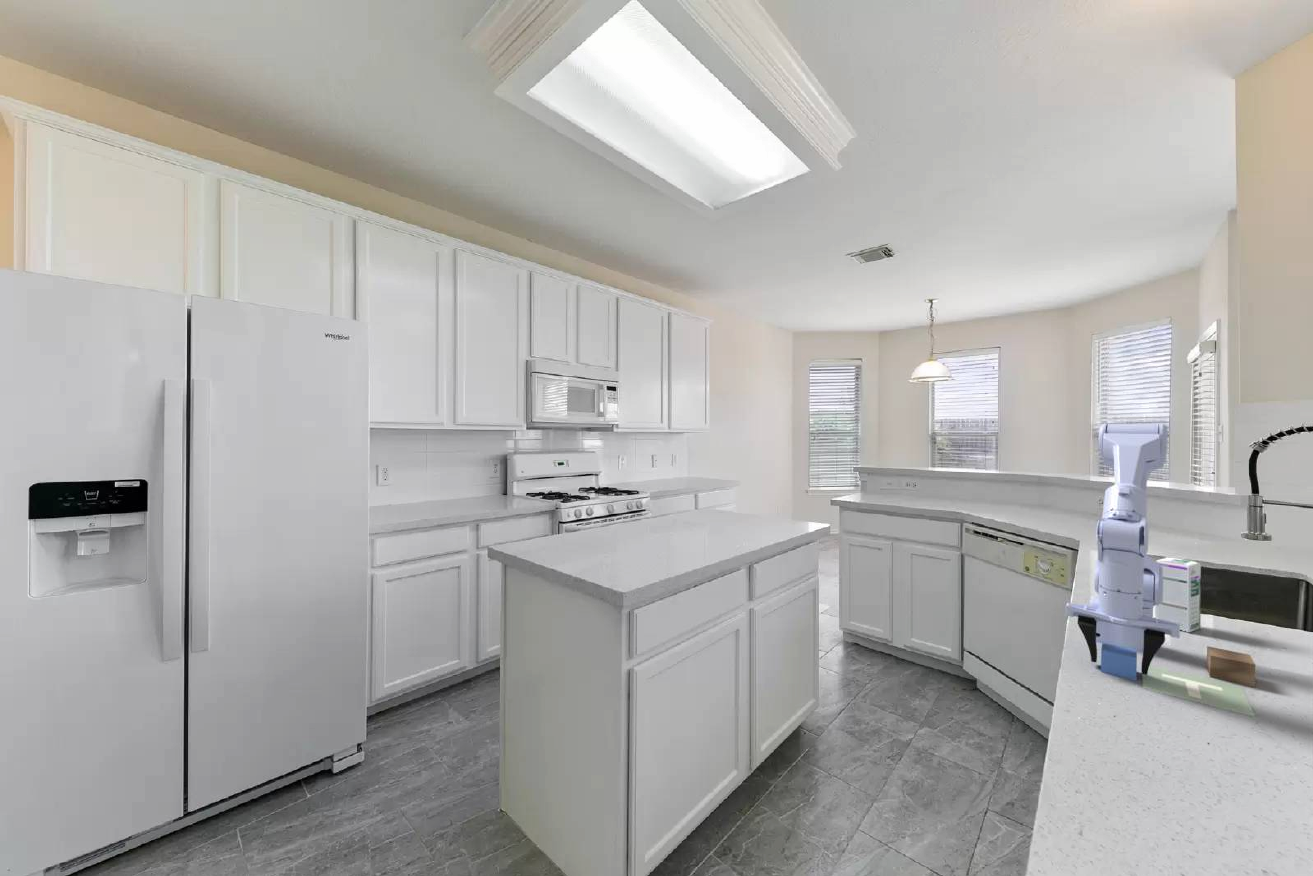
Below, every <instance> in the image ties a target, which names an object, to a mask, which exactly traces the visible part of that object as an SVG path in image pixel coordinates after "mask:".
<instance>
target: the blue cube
mask: <svg viewBox="0 0 1313 876" xmlns="http://www.w3.org/2000/svg"><path fill="white" fill-rule="evenodd" d="M1100 651H1101V652H1100V657H1101V658H1100V672H1101V673H1104V674H1109V675H1113V676H1117V677H1120V678H1125V679H1127V680H1133V681H1137V671H1138V670H1137V667H1138V666H1137V665H1138V663H1137V662H1138V660H1137V659H1138V658H1137V657H1138V656H1137V654H1138V652H1137V650H1135V649H1131V648H1126V647H1121V646H1117V645H1112V644H1108V643H1103V642H1102V644H1101V650H1100Z"/></svg>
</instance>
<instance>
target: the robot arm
mask: <svg viewBox="0 0 1313 876" xmlns="http://www.w3.org/2000/svg"><path fill="white" fill-rule="evenodd" d="M1098 451H1099V452H1100V453H1099V454H1100V459H1101V461H1102V462H1103V465H1104V466H1106V467H1108V468H1110V469H1113V471H1114V472H1113V474H1114V485H1111V486H1109V487H1107V488H1106V490H1104V491H1105V492H1104V499H1103V505H1102V506H1103V508H1102V515H1101V521H1100V520H1098V521H1097V522H1096V523H1097V524H1096V528H1095V529H1096V531H1095V544H1096V549H1097V558H1096V565H1095V569H1094V577H1093V586H1094V587H1093V589H1094V591H1095V592H1096V594H1097V595H1098V596H1095V595H1091V596H1090V601H1089V602H1090V605H1085V604H1078V603H1071V602H1067V603H1066V605H1065V616H1067V617H1071V618H1072V617H1077V625H1078V627H1079V630H1080V631H1081V633H1082V635H1083V637H1084V640H1085V642H1086V644H1087V647H1088V651H1089V654H1090V660H1091V662H1092V663H1096V664H1097V661H1098V660H1097V659H1098V648H1097V644H1098V645H1102V642H1103V643H1108V644H1112V645H1117V646H1121V647H1126V648H1131V649H1135V650H1137V654H1142V657H1141V658H1142V659H1141V668H1140V669H1141V675H1142V674H1145V675H1147V674H1148V669H1149V666H1151V663H1152V661H1153V659H1154V657H1156V653H1157V652H1158V651H1159V650H1160V648H1161V647H1162V646H1163V645H1164V643H1165V641H1166V635H1168V636H1170V637H1171V638H1177V639H1179V638H1180V636H1181V631H1180V626H1179V623H1174V622H1169V621H1165V620H1161V619H1157V618H1155V617H1153V616H1154V608H1155V605H1159V604H1161V603H1162V602H1163V568H1162V567H1161V565H1160V564H1159V563H1158V562H1157V561H1156V559H1154V558H1153V557H1151V556H1150V555H1148V554H1147V553H1148V550H1149V526H1148V522H1147V521H1148V520H1147V510H1148V493H1147V485H1148V480H1149V478H1150V476H1151V474H1152V471H1153V472H1154V471H1156V470H1158V469H1162V468H1164V467H1165V466H1164V465H1165V463H1167V462H1166V461H1167V454H1168V425H1166V424H1165V423H1159V424H1158V423H1157V424H1156V423H1155V424H1154V423H1153V424H1152V423H1150V424H1147V423H1145V424H1144V423H1143V424H1141V423H1140V424H1139V423H1137V424H1135V423H1133V424H1132V423H1131V424H1125V423H1122V424H1120V423H1118V424H1115V423H1113V424H1112V423H1111V424H1110V423H1103V424H1102V425H1100V426H1099V430H1098ZM1148 570H1149V571H1148Z"/></svg>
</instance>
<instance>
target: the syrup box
mask: <svg viewBox="0 0 1313 876" xmlns="http://www.w3.org/2000/svg"><path fill="white" fill-rule="evenodd" d="M1155 561H1157V562H1158V563H1159V564H1160V565H1161V567H1162V568H1163V602H1162V603H1161V604H1159V605H1155V604H1154V618H1157V619H1161V620H1165V621H1169V622H1174V623H1179V626H1180V630H1182V631H1181V632H1183V631H1186V632H1185V633H1187V632H1190V633H1191V632H1194V631H1196V629H1197V630H1199V629H1201V628H1200V627H1201V613H1202V612H1201V611H1202V610H1201V608H1202V607H1201V604H1202V603H1201V602H1202V601H1201V599H1202V598H1201V596H1202V595H1201V592H1202V591H1201V590H1202V589H1201V583H1202V582H1201V579H1202V578H1201V577H1202V576H1201V575H1202V573H1201V572H1202V570H1201V569H1202V566H1201V562H1198V561H1194V560H1191V559H1189V560H1188V559H1184V558H1176V557H1169V556H1168V557H1165V558H1161V559H1157V560H1156V559H1155ZM1198 628H1199V629H1198Z"/></svg>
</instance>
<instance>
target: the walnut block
mask: <svg viewBox="0 0 1313 876" xmlns="http://www.w3.org/2000/svg"><path fill="white" fill-rule="evenodd" d="M1206 670H1207V673H1208V675H1209V678H1211V679H1214V680H1215V679H1216V680H1221V681H1223V682H1224V681H1225V682H1229V683H1233V684H1237V685H1242V686H1248V687H1252V688H1255V687H1256V663H1255V661H1254V659H1253V658H1252V656H1251V655H1250V654H1247V653H1242V652H1237V651H1232V650H1228V649H1222V648H1218V647H1212V646H1206Z"/></svg>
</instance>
